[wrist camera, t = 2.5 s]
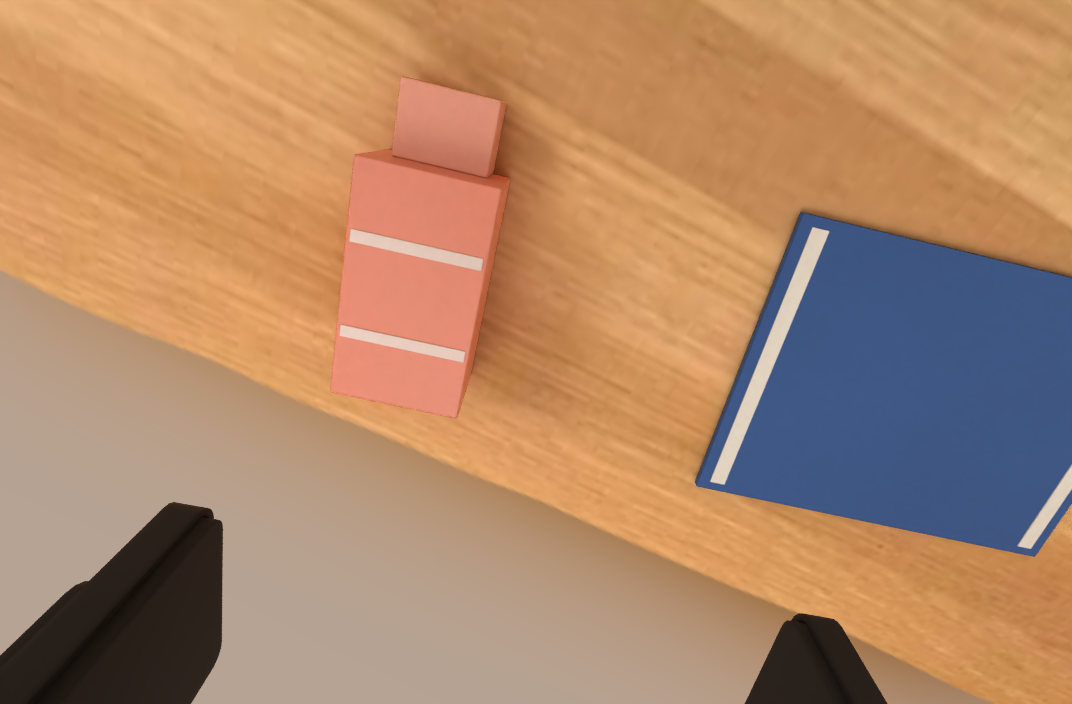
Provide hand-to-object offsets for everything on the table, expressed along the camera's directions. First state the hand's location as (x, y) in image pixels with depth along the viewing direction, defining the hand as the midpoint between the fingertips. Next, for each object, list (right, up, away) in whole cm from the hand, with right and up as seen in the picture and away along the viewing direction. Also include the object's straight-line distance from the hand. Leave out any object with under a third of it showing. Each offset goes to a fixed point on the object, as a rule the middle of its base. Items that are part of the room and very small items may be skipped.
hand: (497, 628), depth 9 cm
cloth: (+21, +2, +20) cm, 29 cm away
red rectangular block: (-4, +10, +17) cm, 20 cm away
